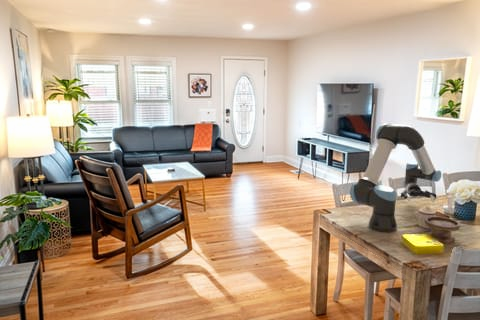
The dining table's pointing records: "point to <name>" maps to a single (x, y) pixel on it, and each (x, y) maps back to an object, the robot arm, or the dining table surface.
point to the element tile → (422, 244)
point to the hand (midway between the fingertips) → (421, 199)
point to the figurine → (449, 205)
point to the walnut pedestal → (442, 228)
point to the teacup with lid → (424, 216)
